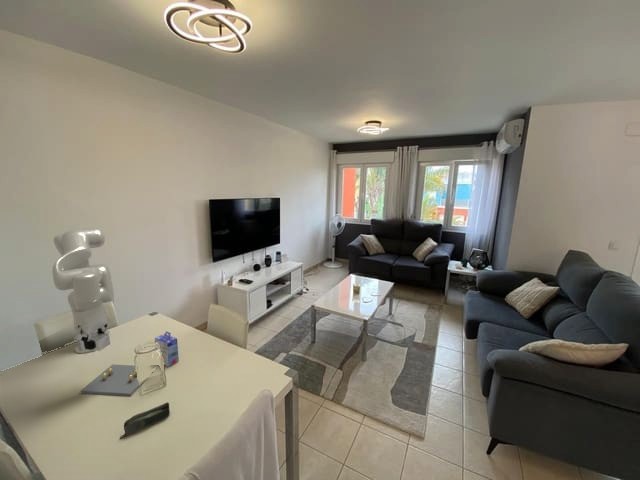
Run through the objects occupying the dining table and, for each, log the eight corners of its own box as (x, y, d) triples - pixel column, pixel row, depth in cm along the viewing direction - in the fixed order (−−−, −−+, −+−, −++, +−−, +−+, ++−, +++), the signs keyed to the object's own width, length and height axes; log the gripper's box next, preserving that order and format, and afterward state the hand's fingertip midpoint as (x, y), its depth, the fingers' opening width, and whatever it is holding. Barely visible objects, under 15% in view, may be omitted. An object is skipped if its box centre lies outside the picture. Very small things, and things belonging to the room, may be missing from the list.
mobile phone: (168, 399, 98) (118, 421, 88) (170, 404, 96) (118, 427, 86) (168, 411, 99) (119, 434, 89) (170, 416, 97) (120, 440, 87)
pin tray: (113, 366, 121) (111, 358, 120) (156, 369, 120) (156, 361, 120) (80, 393, 106) (79, 384, 105) (130, 396, 105) (129, 387, 104)
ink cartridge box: (179, 360, 127) (177, 333, 124) (169, 367, 122) (166, 339, 119) (166, 354, 131) (164, 328, 128) (155, 360, 126) (153, 333, 123)
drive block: (92, 342, 108) (90, 332, 107) (110, 344, 108) (108, 334, 107) (81, 349, 104) (79, 339, 103) (100, 350, 103) (98, 340, 102)
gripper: (99, 294, 111) (105, 333, 114) (57, 313, 94) (65, 357, 98) (116, 295, 110) (121, 334, 114) (76, 314, 94) (84, 359, 97)
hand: (95, 344), depth 106 cm, fingers closed on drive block, 4 cm apart
